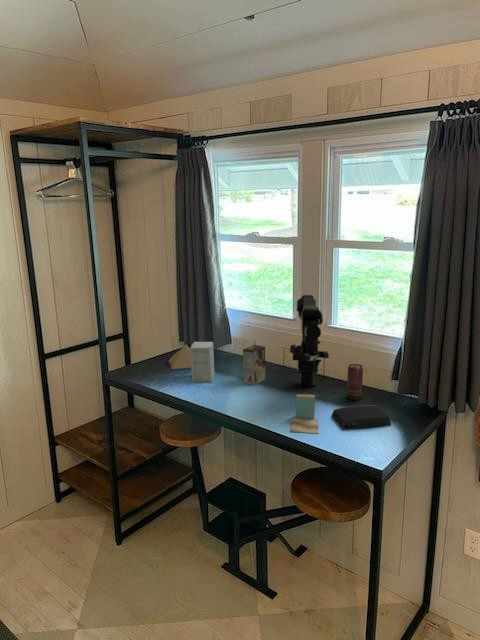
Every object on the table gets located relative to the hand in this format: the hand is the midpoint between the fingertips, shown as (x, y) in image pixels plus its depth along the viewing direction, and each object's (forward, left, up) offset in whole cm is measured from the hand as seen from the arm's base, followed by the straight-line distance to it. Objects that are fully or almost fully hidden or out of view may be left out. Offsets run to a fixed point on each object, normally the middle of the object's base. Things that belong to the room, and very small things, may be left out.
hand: (311, 376), depth 201 cm
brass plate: (+18, -12, -11) cm, 24 cm away
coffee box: (-31, -12, -11) cm, 35 cm away
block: (+11, -8, -11) cm, 18 cm away
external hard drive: (+22, +10, -12) cm, 27 cm away
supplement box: (-43, -33, -11) cm, 55 cm away
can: (+2, +20, -11) cm, 23 cm away
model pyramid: (-68, -35, -12) cm, 77 cm away
